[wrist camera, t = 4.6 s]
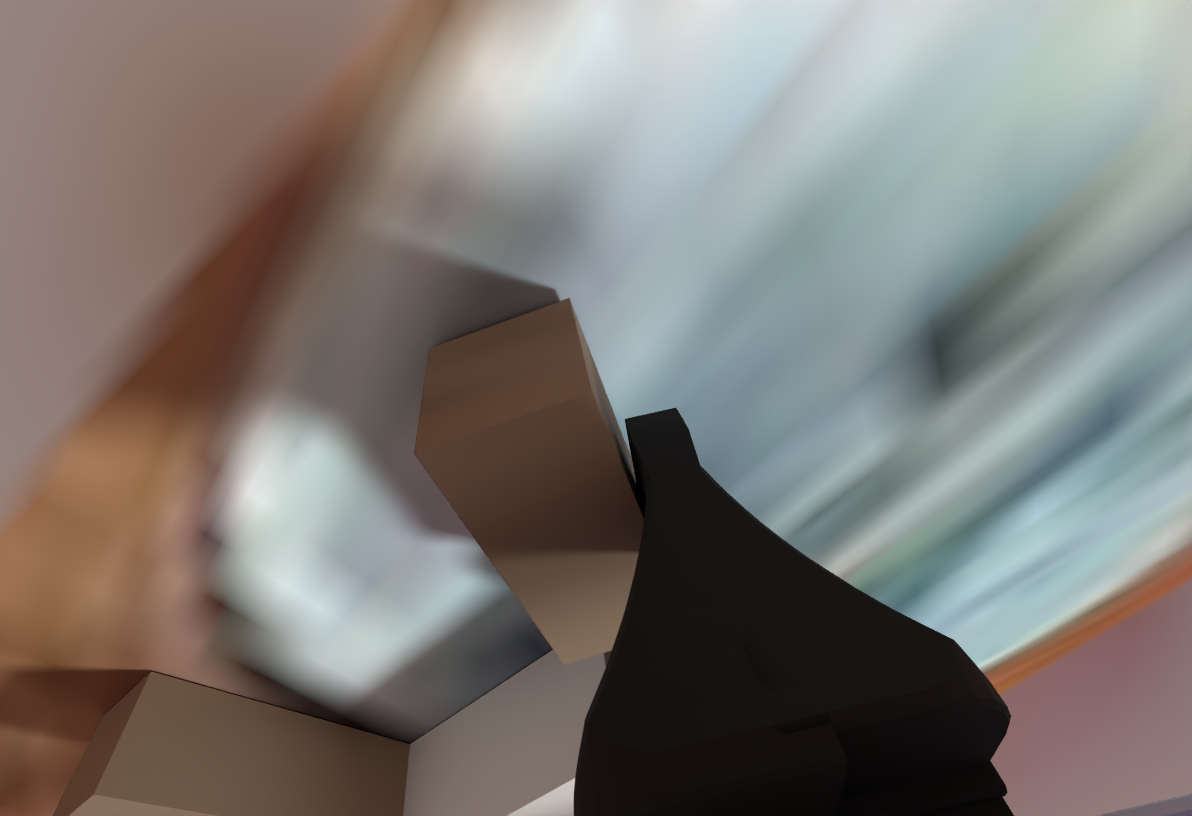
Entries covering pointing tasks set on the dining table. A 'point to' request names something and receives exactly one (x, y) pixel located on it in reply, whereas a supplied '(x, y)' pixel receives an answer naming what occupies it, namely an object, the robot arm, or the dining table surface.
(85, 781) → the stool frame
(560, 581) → the hinged leg
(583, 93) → the dining table surface
